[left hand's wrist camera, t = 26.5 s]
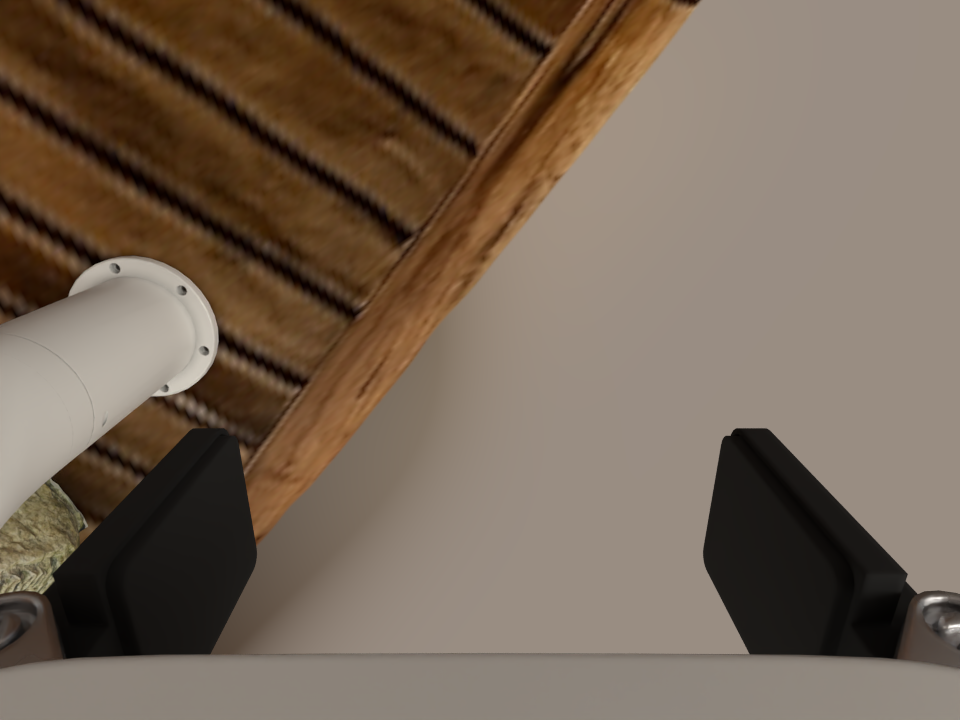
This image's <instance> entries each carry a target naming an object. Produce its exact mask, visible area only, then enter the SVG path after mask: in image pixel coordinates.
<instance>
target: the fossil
mask: <svg viewBox="0 0 960 720" xmlns="http://www.w3.org/2000/svg"><path fill="white" fill-rule="evenodd" d="M86 527H88V525H87V523H86V521H85V519H84V517H83V515H82V513H81V512H80V511H79V510H78V509H77V508H76V507H75V505H74V504H73V503H72V501H71V500H70V498H69V497H68V496H67V495H66V494H65V493H64V492H63V490H62V489H61V488H60V487H59V485H58V484H57V483H55V482H54V481H52V479H51V478H50V479H49V480H48V481H47V482H45V483H44V484H43V485H42V486H41V487H40V488H39V489H38V490H36V491H35V492H34V493H33V494H32V495H31V496H30V497H29V498H28V499H27V500H26V501H25V502H24V503H23V504H22V505H21V506H20V507H19V508H18V509H17V510H16V511H15V512H14V513H13V515H12V516H11V517H10V518H9V519H8V520H7V522H6V523H5V524H4V525H3V526H2V528H1V529H0V594H2V593H8V592H15V591H35V592H38V593H40V594H43V593H44V592H45V591H46V590H47V589H48V588H49V587H50V585H51V584H52V583H53V582H54V578H53V575H52V574H53V573H54V572H55V571H56V570H57V569H58V568H59V567H60V566H61V564H62V563H63V562H64V561H65V560H66V559H67V558H68V557H69V556H70V555H71V554H72V553H73V552H74V551H75V550H76V549H77V548H78V547H79V532H80V531H82V530H83V529H85V528H86Z"/></svg>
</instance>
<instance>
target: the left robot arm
mask: <svg viewBox="0 0 960 720" xmlns="http://www.w3.org/2000/svg"><path fill="white" fill-rule="evenodd" d="M118 265H119V266H118ZM119 267H120V268H119ZM184 287H185V288H186V290H185V289H184ZM218 342H219V339H218V327H217V323H216V319H215V315H214V313H213V311H212V309H211V306H210V304H209V302H208V301H207V299H206V298H205V296H204V295H203V294H202V292H201V291H200V289H199V288H198V287H197V286H196V285H195V284H194V283H193V282H192V281H191V280H190V279H189V278H187V277H186V276H185V275H183V274H182V273H181V272H179V271H178V270H176V269H174V268H173V267H171V266H169V265H167V264H165V263H163V262H160V261H157V260H154V259H151V258H146V257H139V256H120V257H116V258H112V259H107V260H105V261H102V262H100V263H97V264H95V265H93V266H92V267H90V268H89V269H87V270H86V271H84V272H83V273H82V274H81V275H80V276H79V278H78V279H77V280H76V281H75V283H74V285H73V286H72V288H71V290H70V292H69V296H68V297H67V298H65V299H62V300H60V301H57V302H55V303H52V304H50V305H47V306H45V307H42V308H40V309H37V310H35V311H33V312H30V313H28V314H25V315H23V316H20V317H18V318H15V319H13V320H10V321H8V322H5V323H3V324H1V325H0V529H1V528H2V526H3V525H4V524H5V523H6V522H7V520H8V519H9V518H10V517H11V516H12V515H13V513H14V512H15V511H16V510H17V509H18V508H19V507H20V506H21V505H22V504H23V503H24V502H25V501H26V500H27V499H28V498H29V497H30V496H31V495H32V494H33V493H34V492H35V491H36V490H38V489H39V488H40V487H41V486H42V485H43V484H44V483H45V482H47V481H48V480H49V479H50V478H51V477H52V476H54V475H55V474H56V473H57V472H58V471H59V470H61V469H62V468H63V467H64V466H65V465H67V464H68V463H69V462H70V461H72V460H73V459H74V458H75V457H77V456H78V455H79V454H80V453H82V452H83V451H84V450H85V449H87V448H88V447H89V446H90V445H91V444H93V443H94V442H95V441H96V440H98V439H99V438H100V437H101V436H103V435H104V434H105V433H106V432H107V431H109V430H110V429H111V428H112V427H114V426H115V425H116V424H117V423H118V422H120V421H121V420H122V419H123V418H125V417H126V416H127V415H128V414H130V413H131V412H132V411H133V410H134V409H136V408H137V407H138V406H139V405H141V404H142V403H143V402H144V401H146V400H147V399H148V398H149V397H150V396H166V395H171V394H176V393H179V392H181V391H183V390H185V389H188V388H189V387H191V386H192V385H193V384H195V383H196V382H198V381H199V380H200V379H201V378H202V377H203V376H204V375H205V374H206V373H207V371H208V370H209V368H210V367H211V365H212V364H213V361H214V359H215V356H216V354H217V348H218ZM206 347H207V348H208V349H209V350H208V349H207V348H206ZM256 558H257V549H256V543H255V537H254V531H253V525H252V519H251V513H250V508H249V502H248V496H247V490H246V484H245V478H244V472H243V467H242V461H241V455H240V449H239V444H238V440H237V438H236V437H235V436H229V434H228V432H227V430H225V429H224V428H195V429H192V430H190V431H189V432H188V433H187V434H186V435H185V436H184V437H183V438H182V439H181V440H180V441H179V443H178V444H177V445H176V446H175V447H174V448H173V449H172V450H171V451H170V452H169V453H168V454H167V455H166V456H165V457H164V458H163V459H162V460H161V461H160V462H159V463H158V464H157V465H156V467H155V468H154V469H153V470H152V471H151V472H150V473H149V474H148V475H147V476H146V477H145V478H144V479H143V480H142V481H141V482H140V483H139V484H138V485H137V486H136V487H135V488H134V489H133V490H132V492H131V493H130V494H129V495H128V496H127V497H126V498H125V499H124V500H123V501H122V502H121V503H120V504H119V505H118V506H117V507H116V508H115V509H114V510H113V511H112V512H111V513H110V514H109V515H108V517H107V518H106V519H105V520H104V521H103V522H102V523H101V524H100V525H99V526H98V527H97V528H96V529H95V530H94V531H93V532H92V533H91V534H90V535H89V536H88V537H87V538H86V539H85V540H84V542H83V543H82V544H81V545H80V546H79V547H78V548H77V549H76V550H75V551H74V552H73V553H72V554H71V555H70V556H69V557H68V558H67V559H66V560H65V561H64V562H63V563H62V564H61V566H60V567H59V568H58V569H57V570H56V571H55V572H54V573H53V574H52V575H53V578H54V582H53V583H52V584H51V585H50V587H49V588H48V589H47V590H46V591H45V592H44V593H43V594H40V593H38V592H35V591H15V592H8V593H2V594H0V720H960V594H958V593H952V592H945V591H925V592H922V593H920V594H917V593H916V592H915V591H914V590H913V589H912V588H911V587H910V586H909V584H908V583H907V582H906V578H907V575H908V574H907V573H906V572H905V571H904V570H903V569H902V568H901V567H900V566H899V564H898V563H897V562H896V561H895V560H894V559H893V558H892V557H891V556H890V555H889V554H888V553H887V552H886V551H885V550H884V549H883V548H882V547H881V546H880V545H879V544H878V543H877V542H876V540H875V539H874V538H873V537H872V536H871V535H870V534H869V533H868V532H867V531H866V530H865V529H864V528H863V527H862V526H861V525H860V524H859V523H858V522H857V521H856V520H855V519H854V518H853V517H852V515H851V514H850V513H849V512H848V511H847V510H846V509H845V508H844V507H843V506H842V505H841V504H840V503H839V502H838V501H837V500H836V499H835V498H834V497H833V496H832V495H831V494H830V493H829V492H828V490H827V489H825V487H824V486H823V485H822V484H821V483H820V482H819V481H818V480H817V479H816V478H815V477H814V476H813V475H812V474H811V473H810V472H809V471H808V470H807V469H806V468H805V467H804V465H803V464H802V463H801V462H800V461H799V460H798V459H797V458H796V457H795V456H794V455H793V454H792V453H791V452H790V451H789V450H788V449H787V448H786V447H785V446H784V445H783V444H782V443H781V441H780V440H779V439H778V438H777V437H776V436H775V435H774V434H773V433H772V432H771V431H770V430H768V429H765V428H737V429H735V430H733V432H732V434H731V436H725V437H724V438H723V440H722V444H721V449H720V455H719V461H718V467H717V473H716V478H715V484H714V490H713V496H712V502H711V508H710V513H709V519H708V525H707V531H706V537H705V543H704V549H703V558H704V564H705V567H706V570H707V572H708V574H709V576H710V578H711V580H712V582H713V584H714V585H715V587H716V589H717V591H718V593H719V595H720V597H721V599H722V601H723V603H724V605H725V607H726V609H727V611H728V613H729V615H730V617H731V619H732V621H733V622H734V624H735V626H736V628H737V630H738V632H739V634H740V636H741V638H742V640H743V642H744V644H745V646H746V648H747V650H748V652H749V654H560V653H556V654H555V653H430V654H429V653H425V654H424V653H422V654H216V655H215V654H212V655H210V654H211V652H212V650H213V648H214V646H215V644H216V642H217V640H218V638H219V636H220V634H221V632H222V630H223V628H224V626H225V624H226V623H227V621H228V619H229V617H230V615H231V613H232V611H233V609H234V607H235V605H236V603H237V601H238V599H239V597H240V595H241V593H242V591H243V589H244V587H245V585H246V584H247V581H248V580H249V578H250V576H251V574H252V572H253V570H254V567H255V564H256Z"/></svg>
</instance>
